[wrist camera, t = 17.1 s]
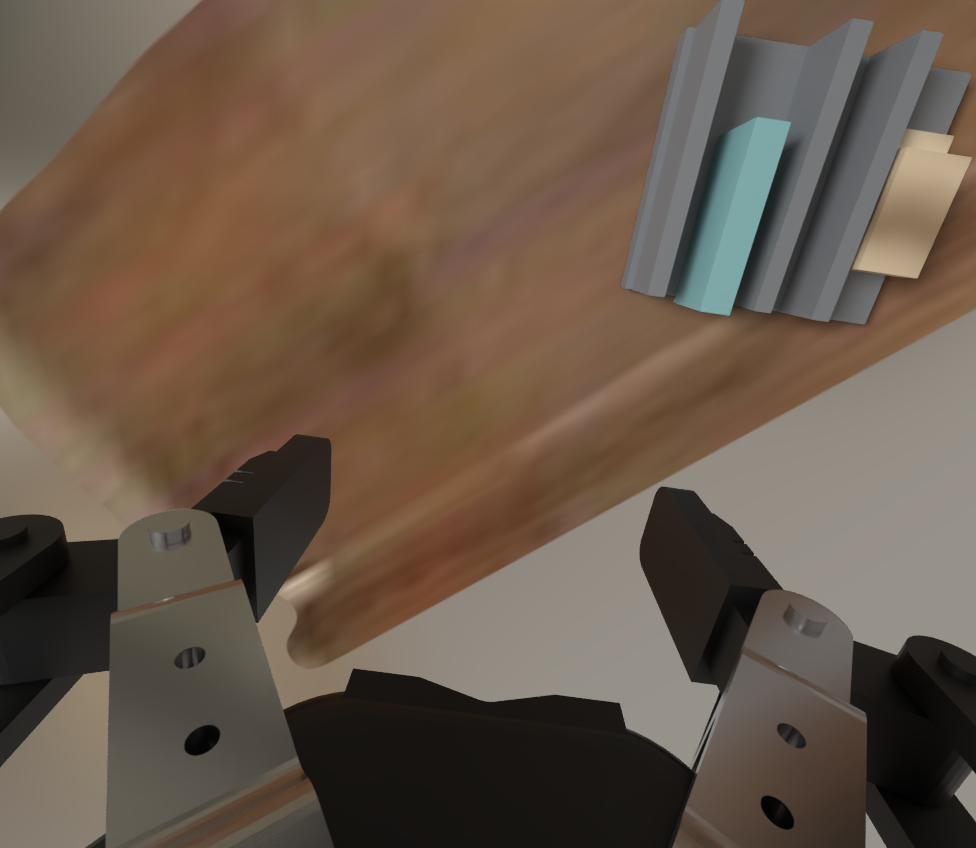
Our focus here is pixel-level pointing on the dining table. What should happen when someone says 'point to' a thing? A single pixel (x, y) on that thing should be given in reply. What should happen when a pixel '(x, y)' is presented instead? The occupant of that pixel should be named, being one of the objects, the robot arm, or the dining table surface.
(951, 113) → the rack
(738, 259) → the teal slat
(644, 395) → the dining table surface
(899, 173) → the offcut top
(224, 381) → the dining table surface
